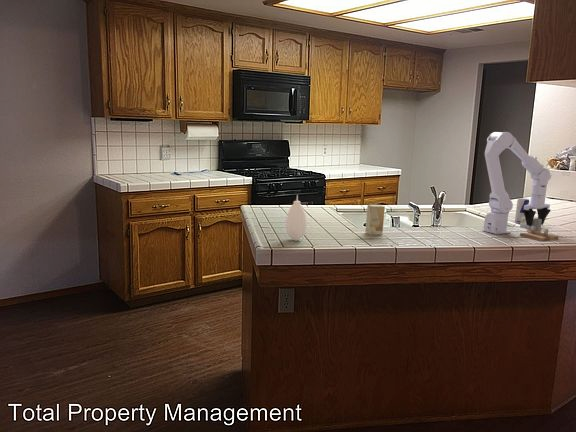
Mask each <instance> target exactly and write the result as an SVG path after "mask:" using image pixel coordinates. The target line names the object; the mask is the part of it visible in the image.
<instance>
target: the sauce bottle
mask: <svg viewBox="0 0 576 432" xmlns="http://www.w3.org/2000/svg"><path fill="white" fill-rule="evenodd" d="M285 219H286V220H285V231H286V234H287V236H288V237H289V238H290V239H291V240H292V241H295V242H296V241H299V240H301V238H304V236H305V234H306V230H307V226H308V225H307V224H308V223H307V221H308V220H307V215H306V212H305V209H304V207H303V205H302V204H301V201H300V200H299V194H296V199H295V200H294V201H293V204H291V206H290V208H289V210H288V213H287V216H286V218H285Z"/></svg>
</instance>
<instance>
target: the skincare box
mask: <svg viewBox="0 0 576 432" xmlns="http://www.w3.org/2000/svg"><path fill="white" fill-rule="evenodd" d="M385 207H386V206H385V205H381V204H367V208H366V219H365V234H367V235H369V236H373V235H374V236H375V235H378V236H379V235H381V236H382V235H383V233H384V231H383V230H384V218H385Z"/></svg>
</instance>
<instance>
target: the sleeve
mask: <svg viewBox="0 0 576 432" xmlns="http://www.w3.org/2000/svg"><path fill="white" fill-rule="evenodd" d="M541 223H542V220H541V219H537V218H533V222H532V226H535V227H536V228H535V232H541V233H542V231H541V230H542V225H541ZM532 226H528V228H526V233H528V232H531V227H532Z"/></svg>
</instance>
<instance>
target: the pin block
mask: <svg viewBox="0 0 576 432" xmlns="http://www.w3.org/2000/svg"><path fill="white" fill-rule="evenodd" d="M535 228H536V227H535V226H532V227H531V232H520V233H519V237H523V238H526V239H530V240H534V241H539V242H544V241H554V240H558V239H559V236H558V235H554V234H549V229H547V228H544V229H543V232H542V231H541V232H535Z"/></svg>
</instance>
